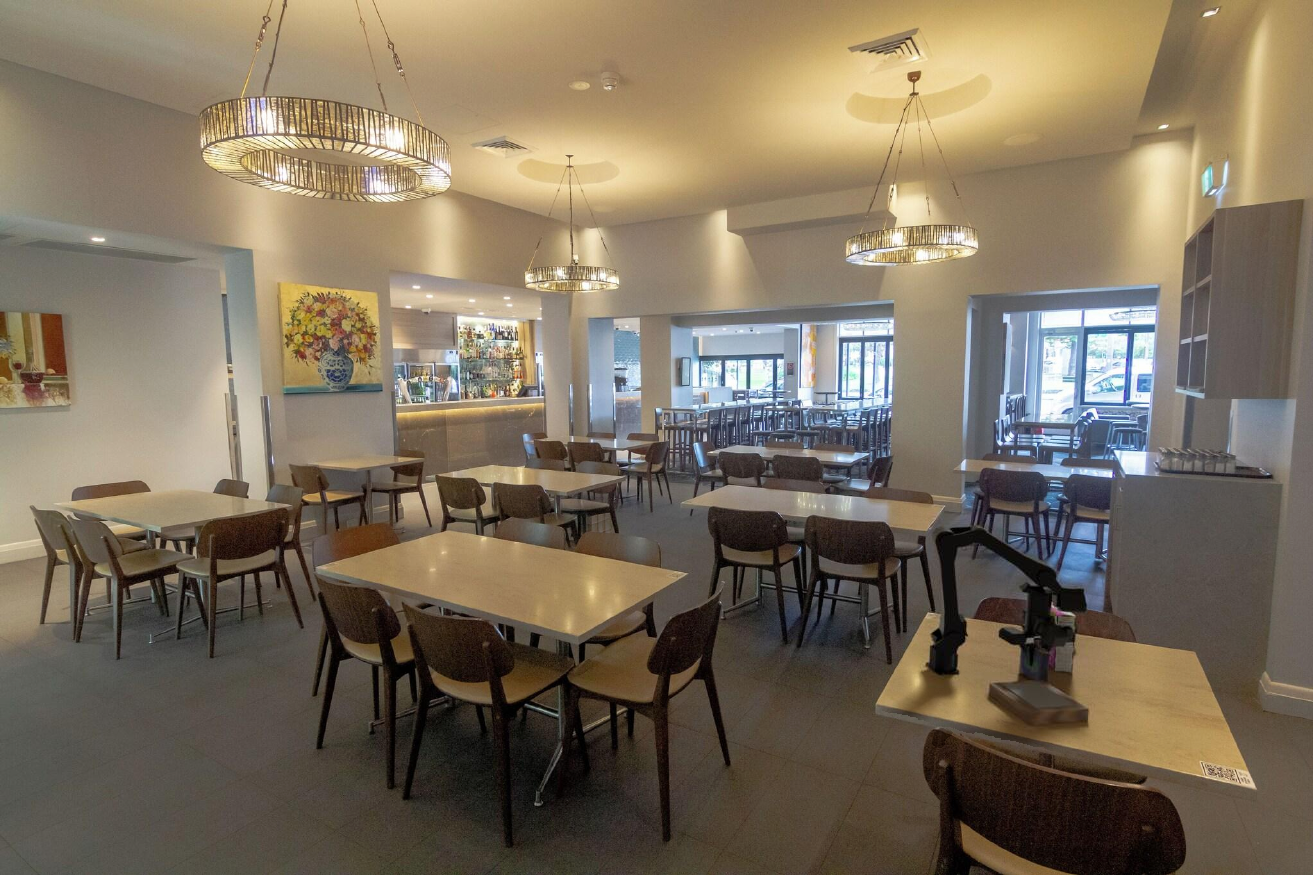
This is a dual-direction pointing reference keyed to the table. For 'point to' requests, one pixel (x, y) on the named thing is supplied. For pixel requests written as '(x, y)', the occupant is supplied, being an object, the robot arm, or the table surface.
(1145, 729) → the table surface
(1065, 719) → the walnut plinth
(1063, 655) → the candy bar box
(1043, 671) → the flask
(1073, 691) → the table surface
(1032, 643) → the robot arm
